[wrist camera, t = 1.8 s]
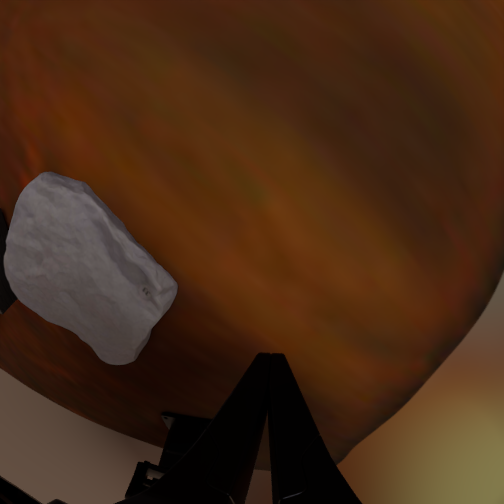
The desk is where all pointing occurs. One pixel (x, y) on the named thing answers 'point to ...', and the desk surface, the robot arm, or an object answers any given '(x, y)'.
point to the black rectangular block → (3, 295)
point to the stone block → (84, 268)
